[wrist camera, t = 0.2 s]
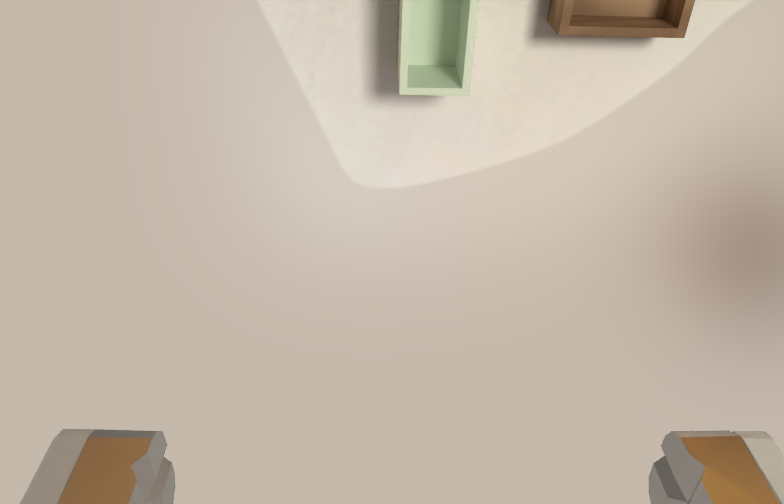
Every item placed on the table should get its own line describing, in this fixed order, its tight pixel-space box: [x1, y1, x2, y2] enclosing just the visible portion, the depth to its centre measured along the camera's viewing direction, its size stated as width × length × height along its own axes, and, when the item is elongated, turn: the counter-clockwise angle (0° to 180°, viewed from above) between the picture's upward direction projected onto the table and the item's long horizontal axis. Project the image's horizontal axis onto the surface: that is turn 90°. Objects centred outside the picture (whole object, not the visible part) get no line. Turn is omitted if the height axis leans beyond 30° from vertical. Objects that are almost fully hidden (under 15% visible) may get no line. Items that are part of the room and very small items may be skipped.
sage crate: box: [397, 0, 479, 96], centre depth 49 cm, size 11×6×6 cm, turn 178°
